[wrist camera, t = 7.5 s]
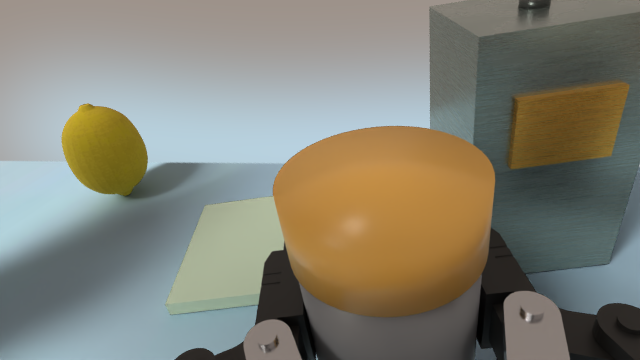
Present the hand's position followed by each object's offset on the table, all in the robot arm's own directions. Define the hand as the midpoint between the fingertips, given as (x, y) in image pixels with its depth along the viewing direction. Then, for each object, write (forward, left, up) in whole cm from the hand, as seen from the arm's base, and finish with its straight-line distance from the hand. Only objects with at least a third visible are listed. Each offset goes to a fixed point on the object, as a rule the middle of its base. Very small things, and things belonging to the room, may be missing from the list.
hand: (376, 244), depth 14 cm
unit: (+8, +7, -7) cm, 13 cm away
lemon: (-19, +17, -7) cm, 27 cm away
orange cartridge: (0, -3, -7) cm, 7 cm away
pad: (-6, +8, -7) cm, 12 cm away
